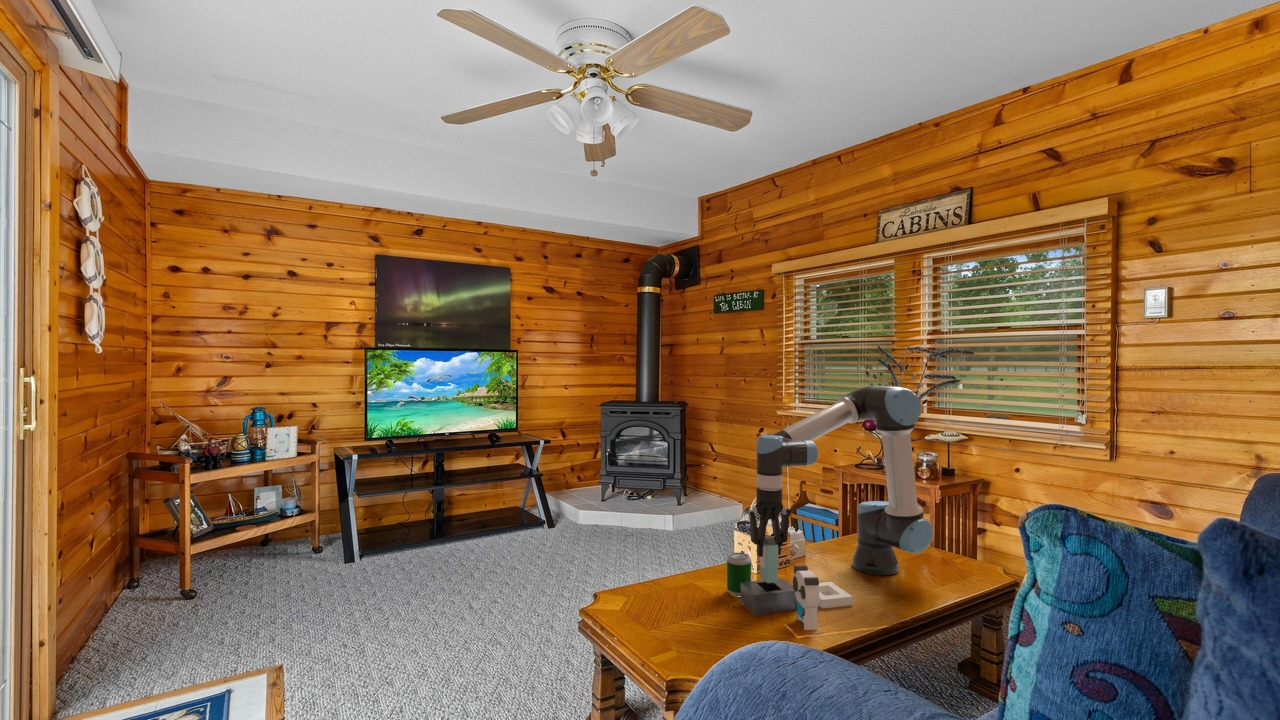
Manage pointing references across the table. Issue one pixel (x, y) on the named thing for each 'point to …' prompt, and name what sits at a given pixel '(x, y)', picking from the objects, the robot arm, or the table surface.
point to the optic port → (768, 596)
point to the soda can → (737, 572)
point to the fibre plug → (770, 561)
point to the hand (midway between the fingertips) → (768, 566)
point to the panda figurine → (806, 597)
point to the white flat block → (833, 596)
